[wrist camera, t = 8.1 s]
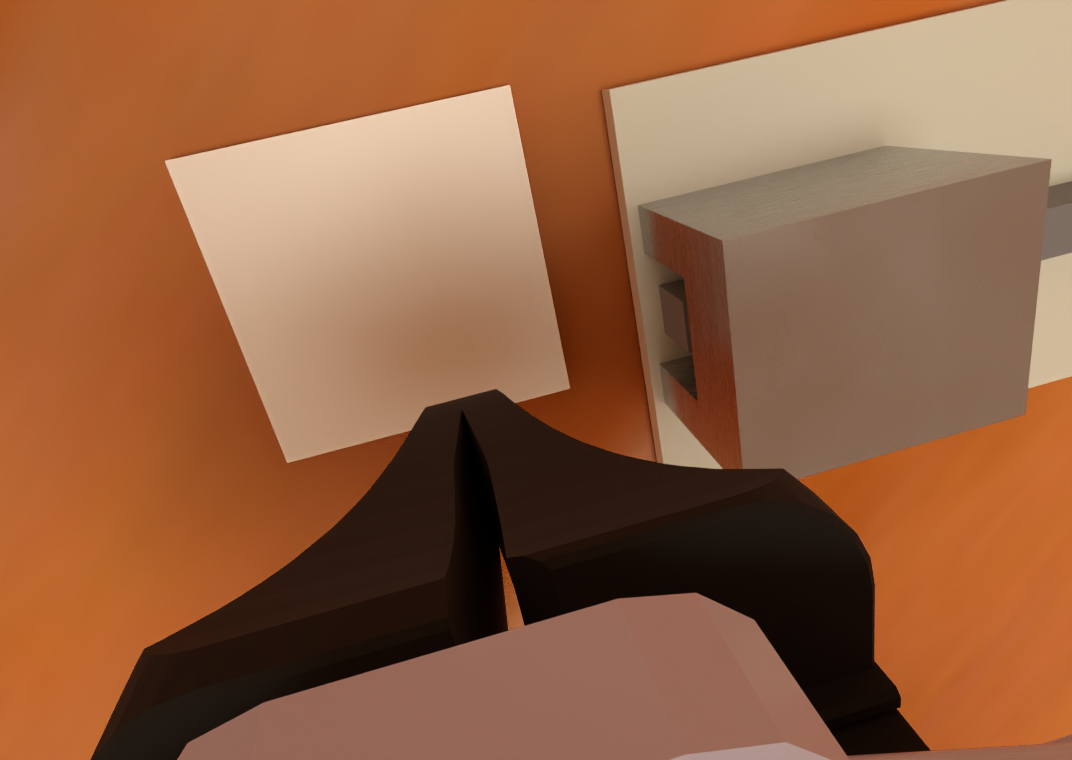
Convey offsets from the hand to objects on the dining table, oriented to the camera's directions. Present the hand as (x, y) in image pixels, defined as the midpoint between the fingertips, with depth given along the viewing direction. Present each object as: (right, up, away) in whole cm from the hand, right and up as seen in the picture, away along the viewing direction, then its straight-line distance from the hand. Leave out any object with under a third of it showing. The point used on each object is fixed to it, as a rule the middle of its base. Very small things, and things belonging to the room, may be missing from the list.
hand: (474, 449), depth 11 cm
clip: (+7, +4, +5) cm, 9 cm away
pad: (-2, +3, +4) cm, 6 cm away
